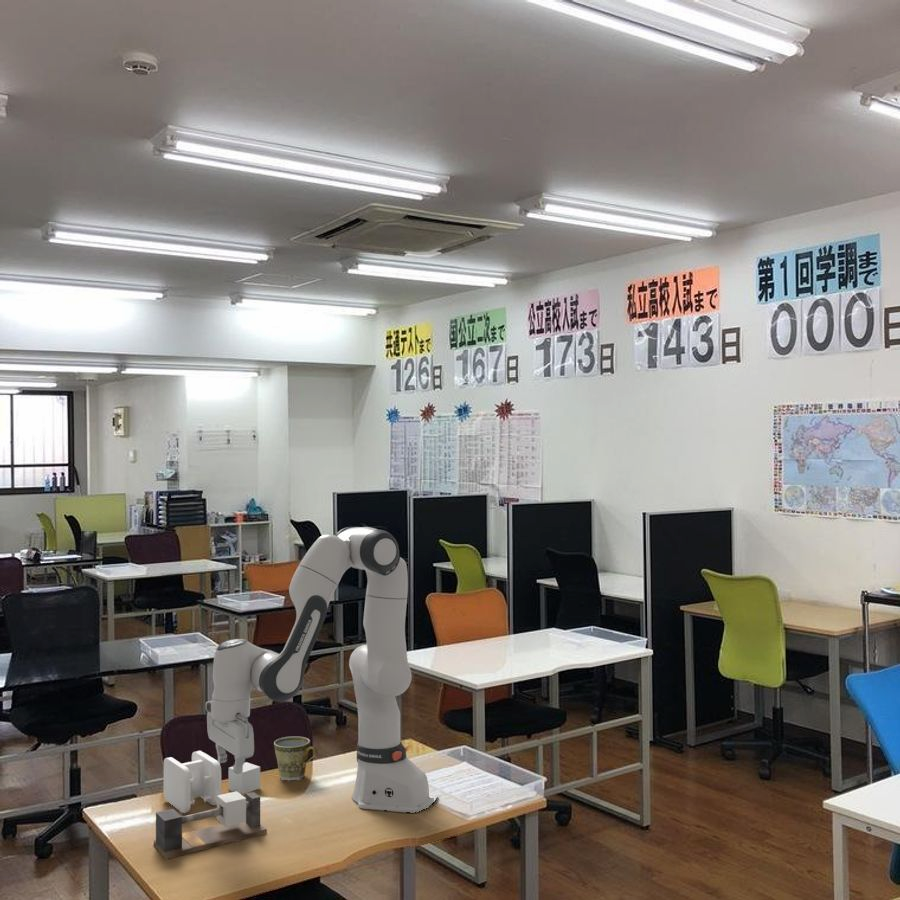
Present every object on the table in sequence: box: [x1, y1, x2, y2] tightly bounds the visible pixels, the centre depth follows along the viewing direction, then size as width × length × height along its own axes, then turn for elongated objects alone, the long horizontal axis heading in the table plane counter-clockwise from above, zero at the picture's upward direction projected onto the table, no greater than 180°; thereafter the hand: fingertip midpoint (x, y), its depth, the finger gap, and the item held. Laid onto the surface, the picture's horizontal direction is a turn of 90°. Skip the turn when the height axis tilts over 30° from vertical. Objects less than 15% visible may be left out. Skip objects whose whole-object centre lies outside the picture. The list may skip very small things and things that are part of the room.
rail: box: [153, 791, 268, 859], centre depth 215 cm, size 24×9×8 cm, turn 126°
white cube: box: [216, 791, 246, 827], centre depth 218 cm, size 5×6×6 cm
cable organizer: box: [163, 750, 222, 814], centre depth 238 cm, size 15×11×12 cm
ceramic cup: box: [273, 736, 318, 781], centre depth 256 cm, size 13×10×10 cm
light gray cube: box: [228, 761, 261, 795], centre depth 248 cm, size 6×6×6 cm
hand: (229, 767), depth 218 cm, fingers open, 8 cm apart
